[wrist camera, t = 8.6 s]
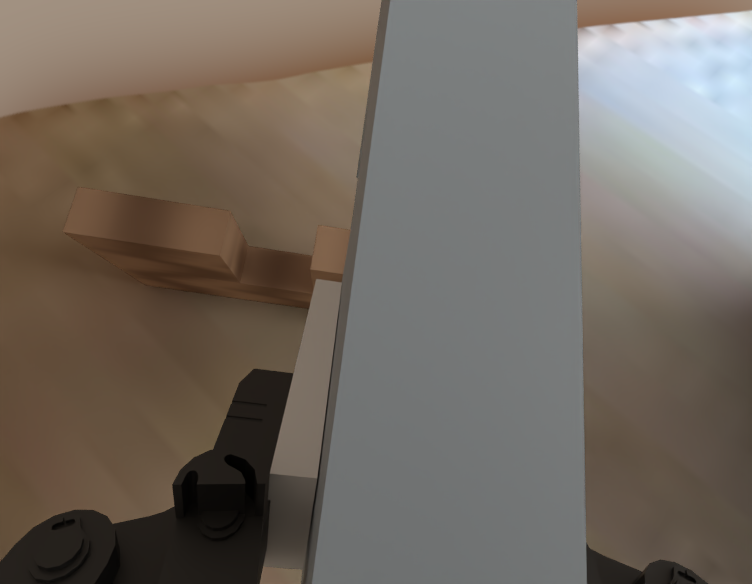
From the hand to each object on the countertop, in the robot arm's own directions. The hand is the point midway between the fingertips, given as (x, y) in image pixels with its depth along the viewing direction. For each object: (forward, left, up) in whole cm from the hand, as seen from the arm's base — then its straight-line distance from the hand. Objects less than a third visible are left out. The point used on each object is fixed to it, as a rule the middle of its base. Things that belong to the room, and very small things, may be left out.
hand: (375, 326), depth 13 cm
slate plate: (0, -5, -3) cm, 6 cm away
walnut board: (+5, -5, -18) cm, 20 cm away
